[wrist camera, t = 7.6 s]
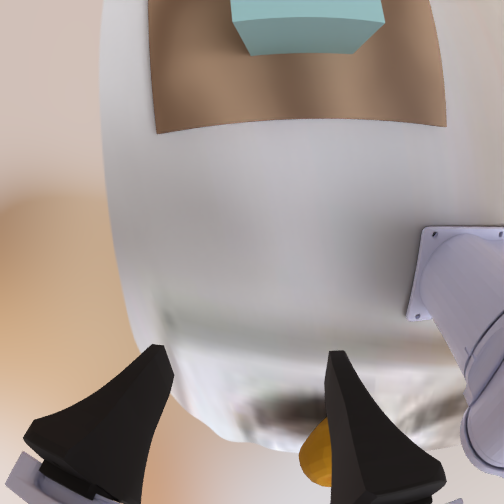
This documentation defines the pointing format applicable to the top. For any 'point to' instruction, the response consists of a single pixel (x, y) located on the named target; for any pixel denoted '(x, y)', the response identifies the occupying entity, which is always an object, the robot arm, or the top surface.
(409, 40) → the walnut board
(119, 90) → the top surface
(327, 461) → the apple
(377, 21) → the mint green cube
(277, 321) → the top surface
